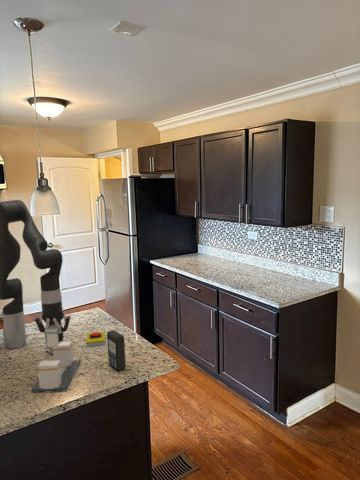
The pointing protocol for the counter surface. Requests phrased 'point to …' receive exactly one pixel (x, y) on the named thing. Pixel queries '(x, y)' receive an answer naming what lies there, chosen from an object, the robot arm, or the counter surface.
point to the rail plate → (66, 378)
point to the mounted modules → (55, 365)
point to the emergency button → (95, 340)
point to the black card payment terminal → (116, 350)
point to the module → (52, 336)
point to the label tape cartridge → (50, 348)
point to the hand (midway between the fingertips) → (54, 341)
